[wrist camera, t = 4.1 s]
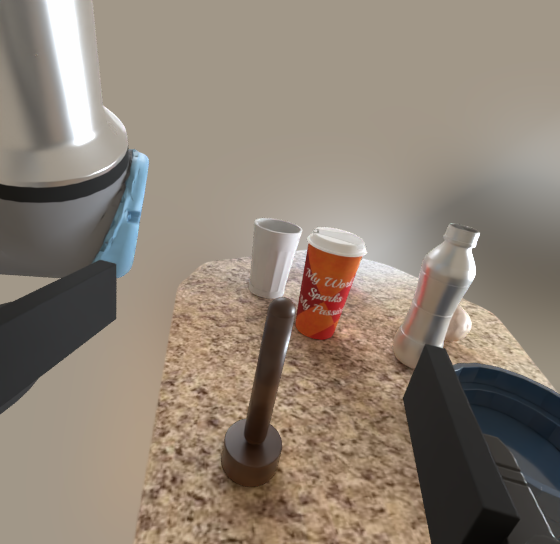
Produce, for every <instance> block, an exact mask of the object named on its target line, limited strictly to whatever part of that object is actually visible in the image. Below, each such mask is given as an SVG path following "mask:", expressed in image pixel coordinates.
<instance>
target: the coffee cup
mask: <svg viewBox="0 0 560 544" xmlns="http://www.w3.org/2000/svg"><path fill="white" fill-rule="evenodd" d="M307 241H308V243H309V244H308V250H307V256H306V261H305V267H304V273H303V279H302V285H301V291H300V297H299V303H298V309H297V316H296V328H297V330H298V331H299V332H300V333H302V334H303V335H305V336H307V337H310V338H313V339H320V340H323V339H328V338H330V337H331V336H332V335H333V333H334V331H335V329H336V326H337V323H338V321H339V318H340V315H341V313H342V310H343V307H344V305H345V302H346V299H347V296H348V294H349V291H350V288H351V285H352V282H353V280H354V277H355V274H356V271H357V269H358V266H359V263H360V260H361V258H362V256H364V255H365V254H366V253H367V251H366V249H365V248H366V245H365V244H364V240H363V239H362V238H360V237H359V236H357V235H355V234H353V233H350V232H347V231H344V230H340V229H335V228H329V227H318V228H315V229H314V230H313V232H312V233H311V235H310V236H308V238H307Z"/></svg>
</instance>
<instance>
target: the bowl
mask: <svg viewBox="0 0 560 544" xmlns="http://www.w3.org/2000/svg"><path fill="white" fill-rule="evenodd" d="M453 367H454V370H455V372H456V374H457V376H458V379H459V381H460V383H461V385H462V388H463V390H464V392H465V394H466V397H467V399H468V401H469V404H470V406H471V408H472V410H473V413H474V415H475V417H476V419H477V422H478V424H479V426H480V428H481V431H482V433H484V434H487V435H491V436H494V437H498V438H499V439H500V440H501V441H502V442H503V444H504V445H505V446H506V447H507V448H508V449H509V450H510V451H511V453H512V454H513V456H514V458H515V460H516V462H517V464H518V466H519V468H520V469H521V471H520V472H521V473H523V475H524V477H525V479H526V481H527V483H528V484H527V486H528V487H530V489H531V491H532V493H533V495H534V497H535V499H536V501H537V503H538V505H539V507H540V509H541V511H542V513H543V515H544V517H545V519H546V521H547V523H548V525H549V527H550V529H551V531H552V533H553V535H554V536H555V538H556V540H558V541H559V542H560V394H558V393H557V392H555V391H553V390H552V389H550V388H548V387H546V386H544V385H542V384H540V383H538V382H536V381H533V380H531V379H529V378H527V377H525V376H523V375H520V374H517V373H514V372H511V371H508V370H505V369H502V368H500V367H496V366H490V365H485V364H480V363H457V364H455V365H453Z"/></svg>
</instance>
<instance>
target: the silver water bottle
mask: <svg viewBox="0 0 560 544" xmlns="http://www.w3.org/2000/svg"><path fill="white" fill-rule="evenodd" d="M479 235H480V232H479V231H478V230H475V229H473V228H471V227H467V226H464V225H460V224H453V223H450V224H449V226H448V228H447V231H446V233H445V234H444V236H443V238H444V239H445V240H444V242H443V243H442V244H440V245H439V246H437V247H435V248H434V249H433V250H431V251H430V252H429V253H428V254H427V255H426V256H425V257H424V259H423V262H422V265H421V270H420V275H419V280H418V284H417V288H416V291H415V294H414V298H413V301H412V304H411V306H410V308H409V311H408V313H407V315H406V317H405V319H404V321H403V323H402V324H401V326H400V327H399V329H398V330H397V332H396V334H395V336H394V340H393V346H392V347H393V352H394V354H395V356H396V358H397V359H398V360H399V361H400V362H401V363H403V364H404V365H406V366H408V367H410V368H412V369H415V368H416V365H417V363H418V360H419V358H420V355H421V353H422V350H423V348H424V346H425V344H429V345H433V346H437V347H441V348H443V344H444V339H445V335H446V332H447V329H448V326H449V323H450V320H451V318H452V316H453V313H454V312H455V310H456V308H457V306H458V304H459V302H460V300H461V299H462V297H463V296H464V294H465V293H466V291H467V289H468V287H469V286H470V284H471V283H472V281H473V279H474V277H475V272H476V268H475V263H474V259H473V256H472V252H471V249H472V248H474V247H475V246H476V244H477V243H476V242H477V240H478V237H479Z"/></svg>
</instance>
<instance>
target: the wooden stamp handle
mask: <svg viewBox="0 0 560 544" xmlns="http://www.w3.org/2000/svg"><path fill="white" fill-rule="evenodd" d="M295 314H296V308H295V305H294V303H293V302H292V301H291V300H290V299H288V298H286V297H278V298H276V299H274V300H273V301H272V302H271V303H270V305H269V307H268V312H267V317H266V322H265V327H264V332H263V337H262V342H261V347H260V353H259V358H258V363H257V368H256V373H255V378H254V383H253V388H252V393H251V398H250V403H249V408H248V413H247V418H246V419H242V420H239V421H237V422H235V423H234V424H233V425H232V426H230V428H229V429H228V430H227V432H226V435H225V439H224V445H223V451H222V458H221V462H222V467H223V469H224V471H225V473H226V475H227V476H228V477H229V478H230V479H231V480H232V481H234V482H235V483H237V484H239V485H242V486H247V487H255V486H260V485H263V484H265V483H266V482H268V481H269V480H270V479H271V478H272V477H273V476H274V474H275V472H276V470H277V466H278V462H279V458H280V454H281V450H282V440H281V437H280V435H279V433H278V431H277V430H276V429H275V428H274V427H273V426H272V425H271V424H270V421H271V416H272V412H273V408H274V404H275V399H276V395H277V391H278V387H279V382H280V378H281V374H282V370H283V365H284V361H285V357H286V353H287V348H288V344H289V340H290V336H291V331H292V327H293V323H294V319H295Z"/></svg>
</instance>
